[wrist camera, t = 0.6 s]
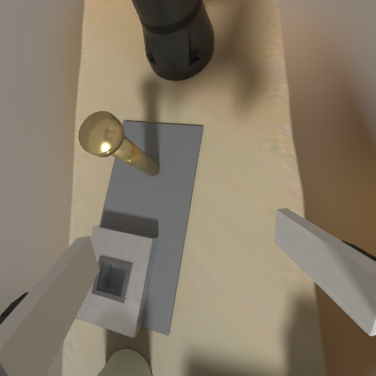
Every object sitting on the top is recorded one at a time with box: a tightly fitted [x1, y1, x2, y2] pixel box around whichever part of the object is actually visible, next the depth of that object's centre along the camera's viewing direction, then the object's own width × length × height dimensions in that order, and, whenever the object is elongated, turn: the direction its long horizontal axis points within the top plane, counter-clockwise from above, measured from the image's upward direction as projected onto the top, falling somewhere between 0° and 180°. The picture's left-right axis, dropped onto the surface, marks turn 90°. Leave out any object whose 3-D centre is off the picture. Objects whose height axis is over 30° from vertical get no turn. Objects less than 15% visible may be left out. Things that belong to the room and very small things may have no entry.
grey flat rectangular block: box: [75, 225, 158, 338], centre depth 32 cm, size 16×12×3 cm
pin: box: [79, 111, 160, 177], centre depth 28 cm, size 5×5×16 cm
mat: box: [100, 121, 203, 335], centre depth 35 cm, size 39×18×1 cm, turn 170°
